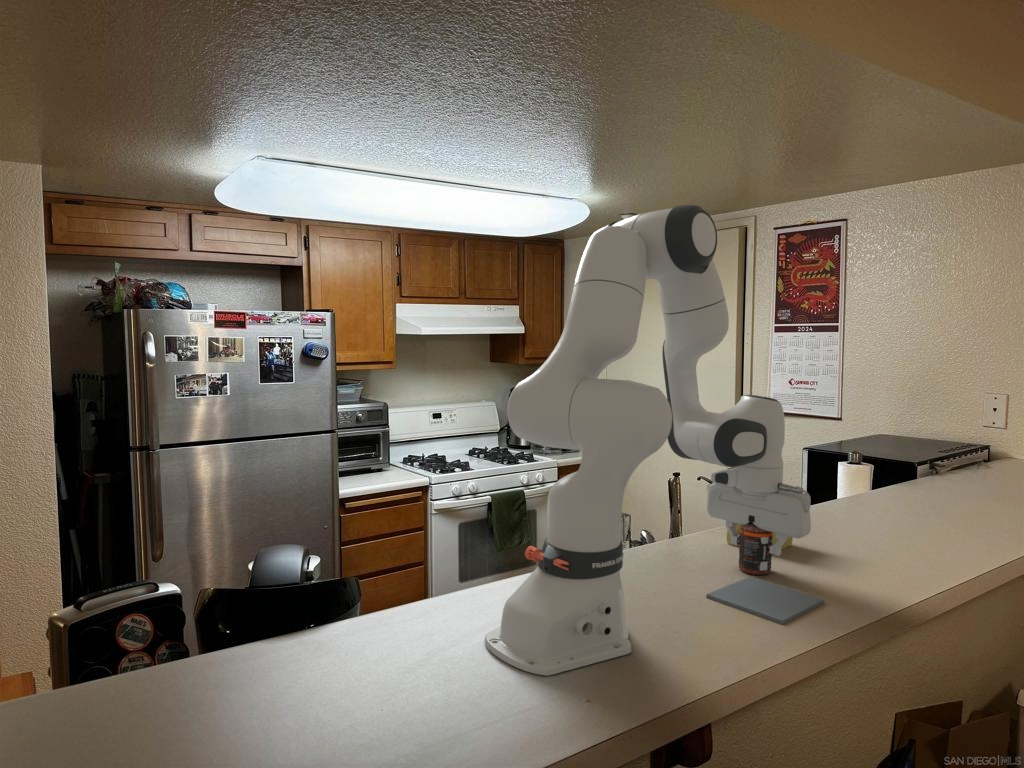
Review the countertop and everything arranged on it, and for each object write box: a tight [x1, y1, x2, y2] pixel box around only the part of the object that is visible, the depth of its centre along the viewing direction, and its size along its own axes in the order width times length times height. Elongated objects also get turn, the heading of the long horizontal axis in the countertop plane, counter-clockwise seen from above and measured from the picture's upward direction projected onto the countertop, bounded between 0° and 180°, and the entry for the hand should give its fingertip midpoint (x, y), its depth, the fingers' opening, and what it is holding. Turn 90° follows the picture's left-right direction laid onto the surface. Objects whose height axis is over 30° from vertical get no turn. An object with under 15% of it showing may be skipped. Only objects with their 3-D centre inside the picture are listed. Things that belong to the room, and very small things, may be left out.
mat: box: [706, 576, 825, 625], centre depth 118 cm, size 14×14×1 cm
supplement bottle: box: [738, 515, 773, 576], centre depth 132 cm, size 6×6×11 cm
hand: (755, 549), depth 132 cm, fingers open, 7 cm apart
